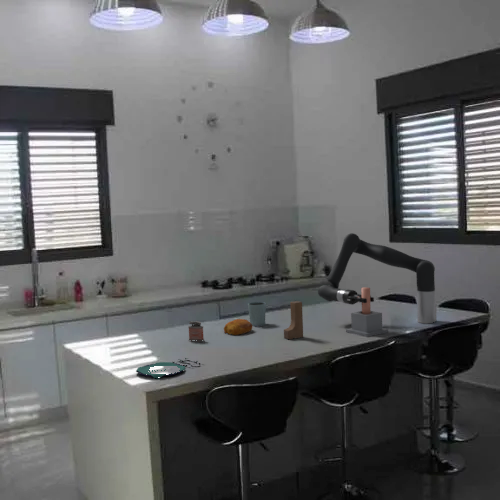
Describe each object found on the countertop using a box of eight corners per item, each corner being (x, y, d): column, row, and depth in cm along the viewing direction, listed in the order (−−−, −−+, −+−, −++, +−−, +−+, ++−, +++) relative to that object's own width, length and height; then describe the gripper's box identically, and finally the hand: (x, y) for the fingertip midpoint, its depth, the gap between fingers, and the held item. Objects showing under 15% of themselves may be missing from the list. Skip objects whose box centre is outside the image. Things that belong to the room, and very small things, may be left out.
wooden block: (288, 339, 317) (287, 304, 316) (283, 338, 321) (282, 302, 319) (303, 337, 321) (302, 302, 320) (298, 335, 325) (297, 300, 324)
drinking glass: (246, 325, 355) (245, 304, 354) (252, 322, 364) (251, 301, 363) (263, 326, 351) (262, 305, 350) (269, 322, 360) (268, 302, 359)
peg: (366, 325, 330) (365, 287, 328) (372, 326, 326) (371, 288, 324) (360, 326, 327) (359, 288, 325) (366, 327, 324) (365, 289, 322)
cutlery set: (127, 373, 268) (127, 368, 268) (183, 360, 289) (183, 355, 289) (155, 383, 254) (155, 377, 254) (212, 367, 275) (212, 362, 275)
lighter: (205, 340, 324) (204, 320, 323) (202, 341, 321) (201, 322, 320) (190, 339, 327) (189, 320, 326) (187, 341, 324) (186, 321, 323)
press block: (367, 327, 337) (367, 309, 336) (388, 332, 324) (387, 312, 324) (346, 332, 329) (345, 312, 328) (366, 336, 316) (365, 317, 315)
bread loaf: (257, 335, 341) (258, 320, 341) (236, 336, 329) (237, 321, 329) (238, 331, 351) (239, 316, 351) (217, 332, 339) (218, 317, 339)
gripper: (336, 291, 333) (359, 294, 319) (357, 288, 341) (379, 291, 326) (337, 305, 334) (359, 309, 319) (357, 301, 341) (380, 305, 327)
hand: (369, 300), depth 323 cm, fingers closed on peg, 4 cm apart
